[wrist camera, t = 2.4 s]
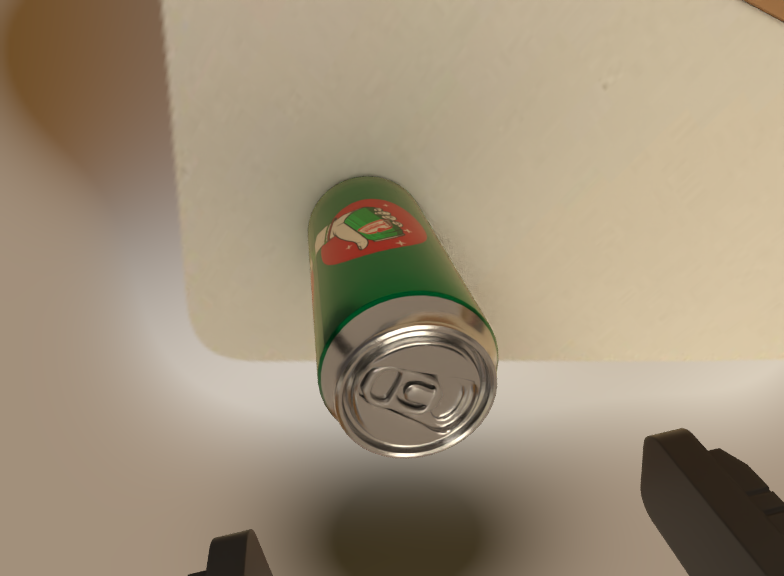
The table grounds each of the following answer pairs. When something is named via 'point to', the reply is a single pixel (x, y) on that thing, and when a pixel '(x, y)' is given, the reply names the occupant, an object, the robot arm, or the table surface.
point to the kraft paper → (770, 7)
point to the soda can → (395, 324)
